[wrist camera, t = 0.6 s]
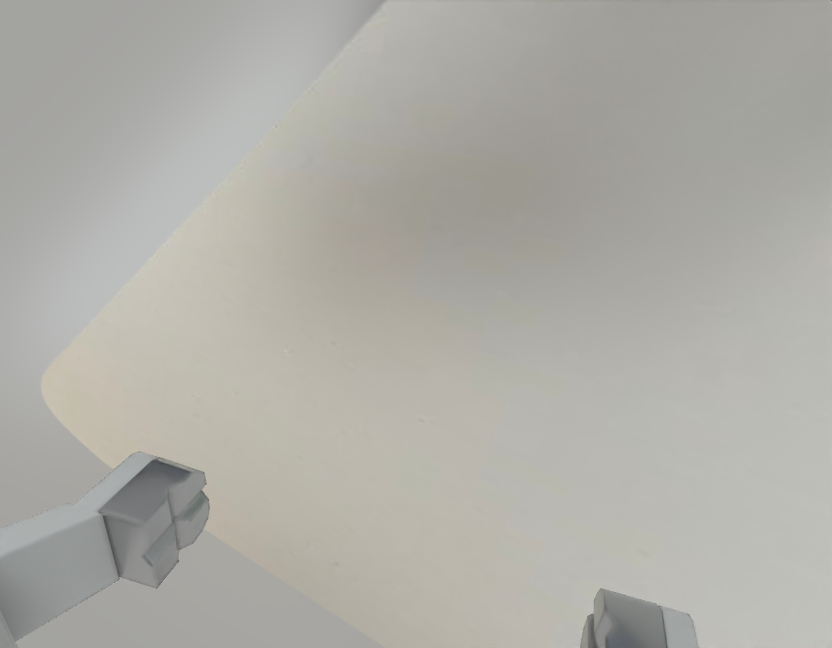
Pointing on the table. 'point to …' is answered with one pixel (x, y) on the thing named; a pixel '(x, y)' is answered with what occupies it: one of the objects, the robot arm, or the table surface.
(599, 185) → the table surface
